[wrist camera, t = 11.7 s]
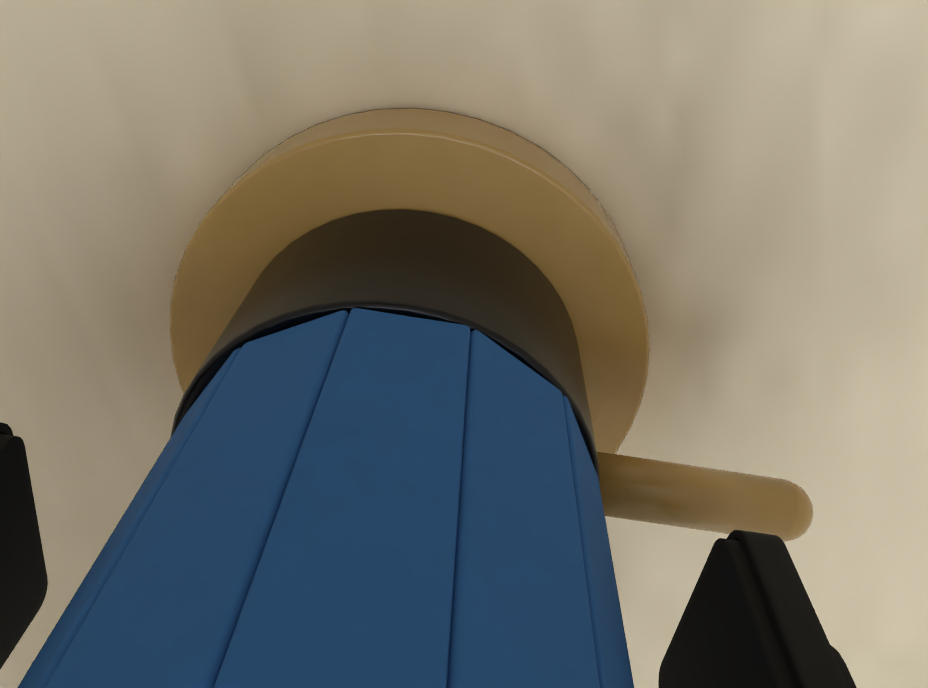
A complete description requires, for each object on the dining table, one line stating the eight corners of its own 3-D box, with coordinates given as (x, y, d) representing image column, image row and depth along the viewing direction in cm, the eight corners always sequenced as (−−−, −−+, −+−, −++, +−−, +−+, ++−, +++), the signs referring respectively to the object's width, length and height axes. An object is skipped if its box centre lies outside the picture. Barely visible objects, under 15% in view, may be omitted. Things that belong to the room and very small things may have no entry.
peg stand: (200, 467, 18) (-85, 1006, 9) (189, 67, 13) (-398, 382, 5) (678, 537, 18) (840, 1111, 10) (826, 174, 14) (1386, 642, 5)
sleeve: (189, 601, 13) (3, 1023, 8) (176, 278, 10) (-137, 642, 5) (544, 649, 13) (571, 1086, 8) (640, 350, 10) (770, 764, 5)
